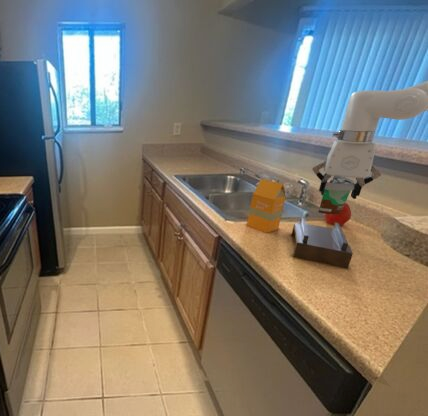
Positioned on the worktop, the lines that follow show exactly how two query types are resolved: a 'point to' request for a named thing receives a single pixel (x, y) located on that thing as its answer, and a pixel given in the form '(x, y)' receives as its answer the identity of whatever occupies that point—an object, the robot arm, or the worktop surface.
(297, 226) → the dark wooden tray
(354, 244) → the worktop surface
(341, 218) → the apple
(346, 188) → the food container
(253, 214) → the orange juice
